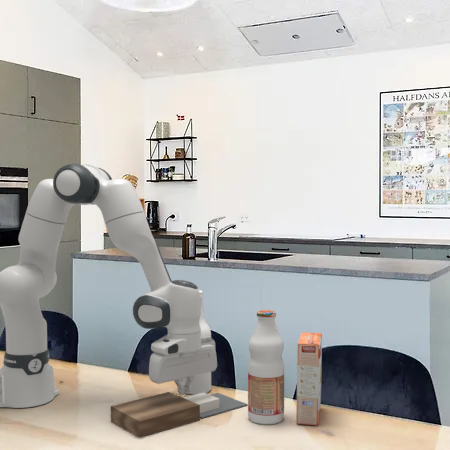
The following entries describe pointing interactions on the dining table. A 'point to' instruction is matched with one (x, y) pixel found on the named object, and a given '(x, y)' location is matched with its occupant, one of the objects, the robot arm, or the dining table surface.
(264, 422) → the fruit juice
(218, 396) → the mat
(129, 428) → the board
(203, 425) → the dining table surface
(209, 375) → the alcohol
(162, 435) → the dining table surface
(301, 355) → the cracker box
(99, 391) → the dining table surface
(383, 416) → the dining table surface
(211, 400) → the tile
